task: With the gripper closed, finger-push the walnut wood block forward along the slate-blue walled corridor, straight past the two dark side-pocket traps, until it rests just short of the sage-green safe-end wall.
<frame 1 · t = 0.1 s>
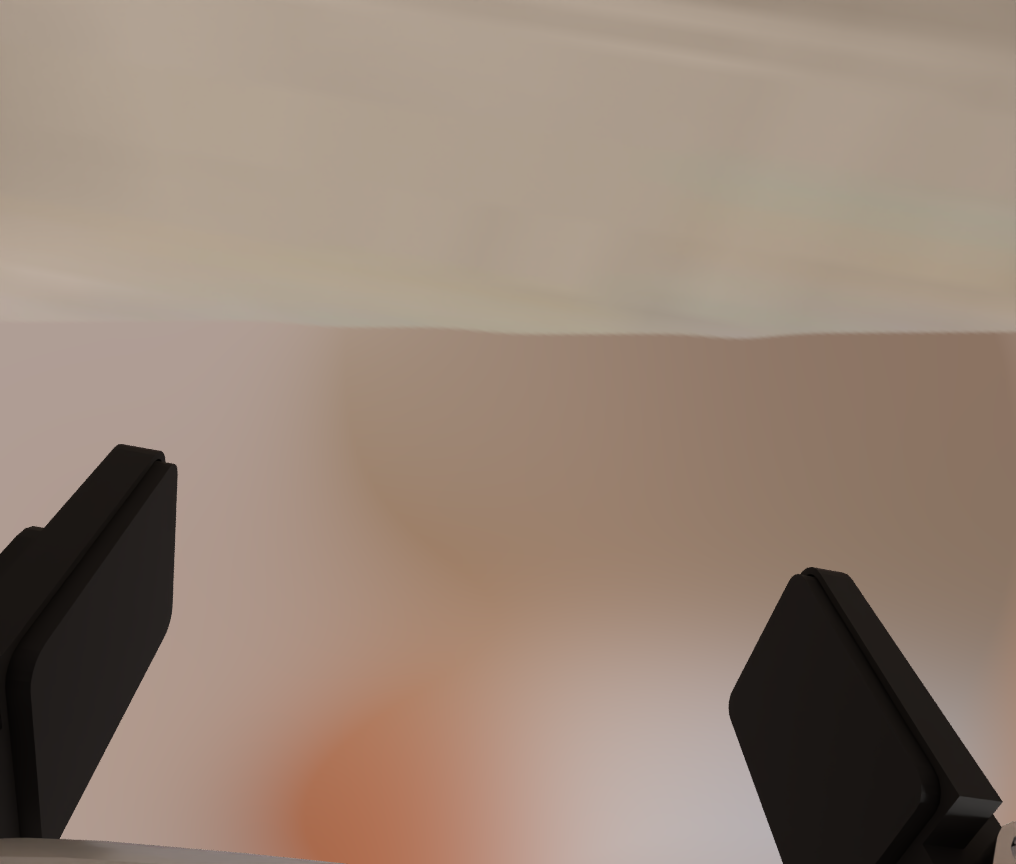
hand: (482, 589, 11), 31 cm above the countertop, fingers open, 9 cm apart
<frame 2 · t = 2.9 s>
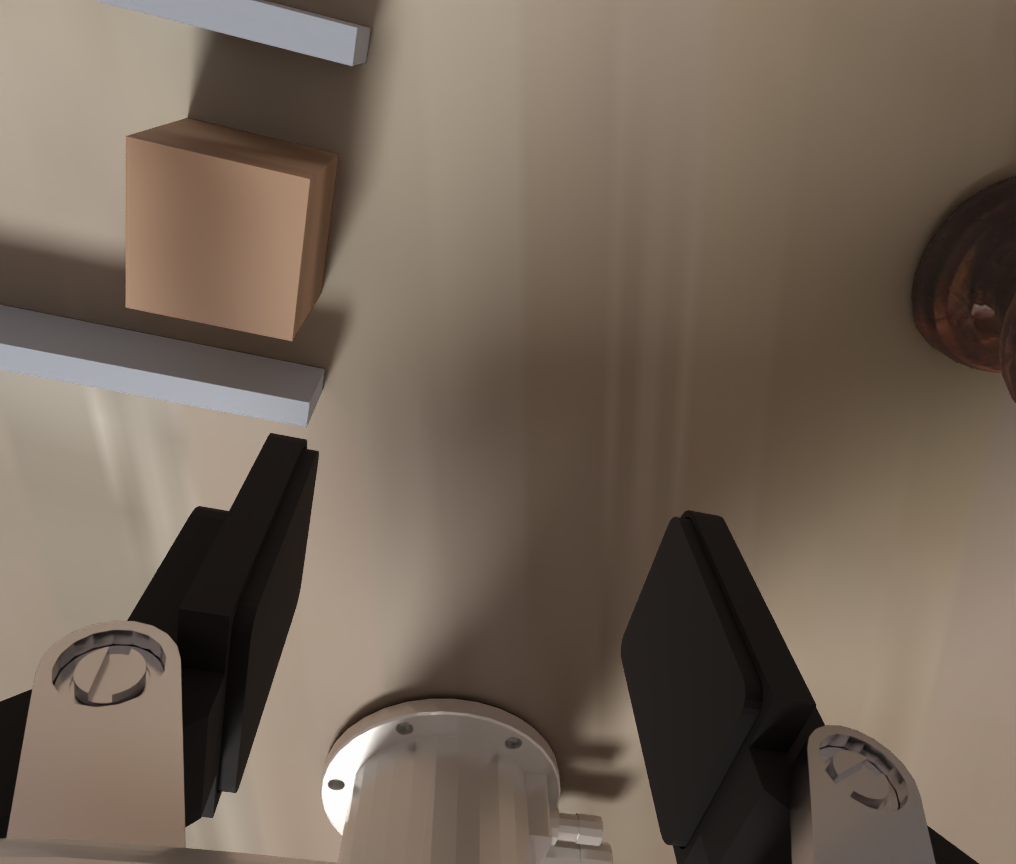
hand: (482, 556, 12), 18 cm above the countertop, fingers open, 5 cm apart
block: (258, 209, 27), on the countertop
mortar and pestle: (958, 286, 29), on the countertop
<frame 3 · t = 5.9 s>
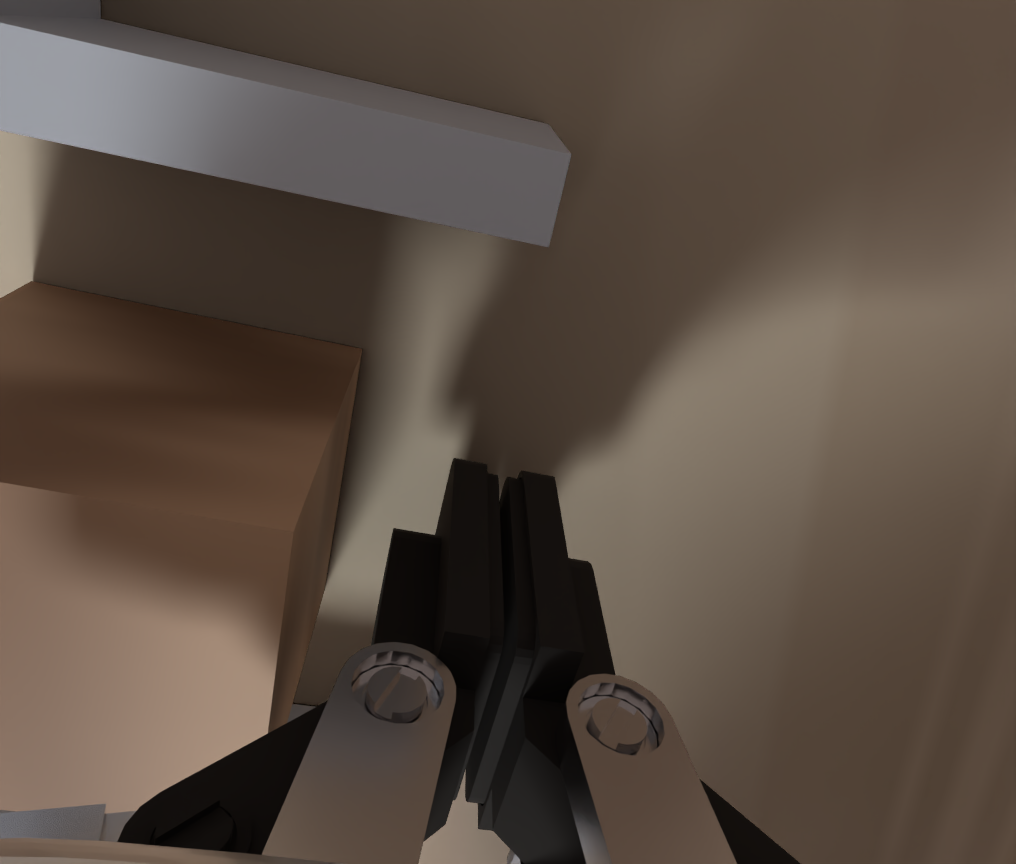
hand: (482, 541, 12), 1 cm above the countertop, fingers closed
block: (194, 453, 13), on the countertop, touching gripper
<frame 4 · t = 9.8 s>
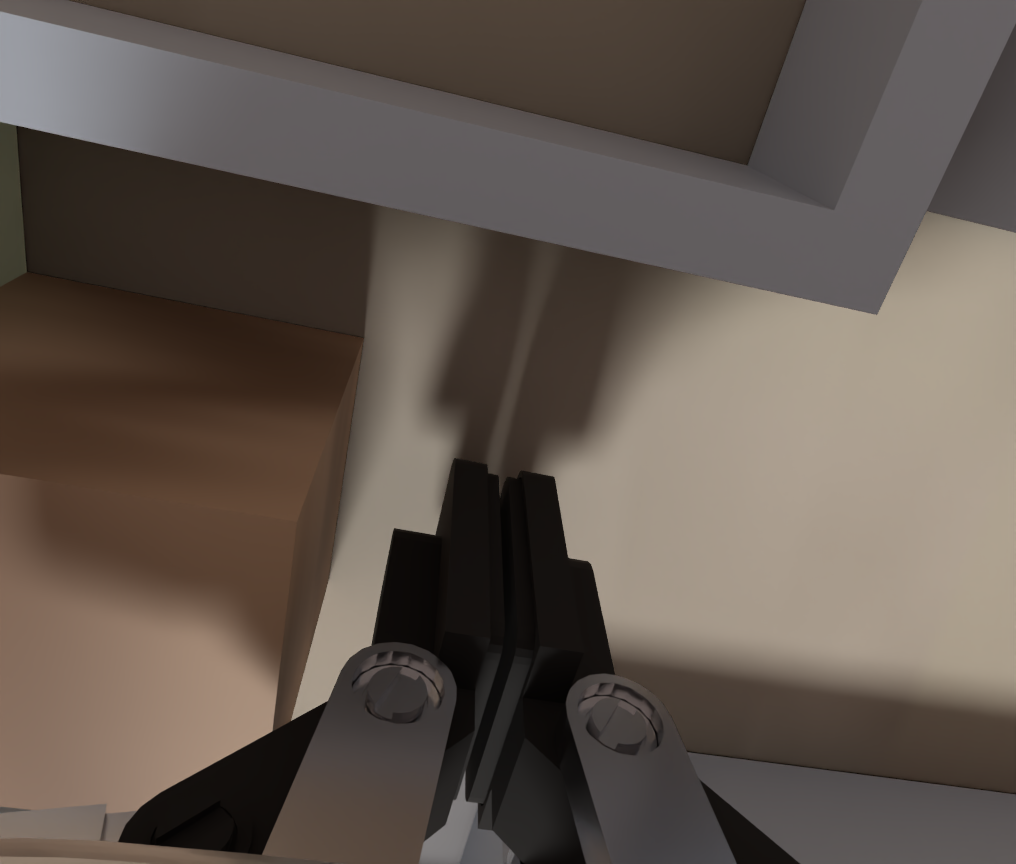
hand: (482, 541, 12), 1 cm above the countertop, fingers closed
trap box: (719, 546, 14), on the countertop
block: (195, 445, 13), on the countertop, touching gripper, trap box
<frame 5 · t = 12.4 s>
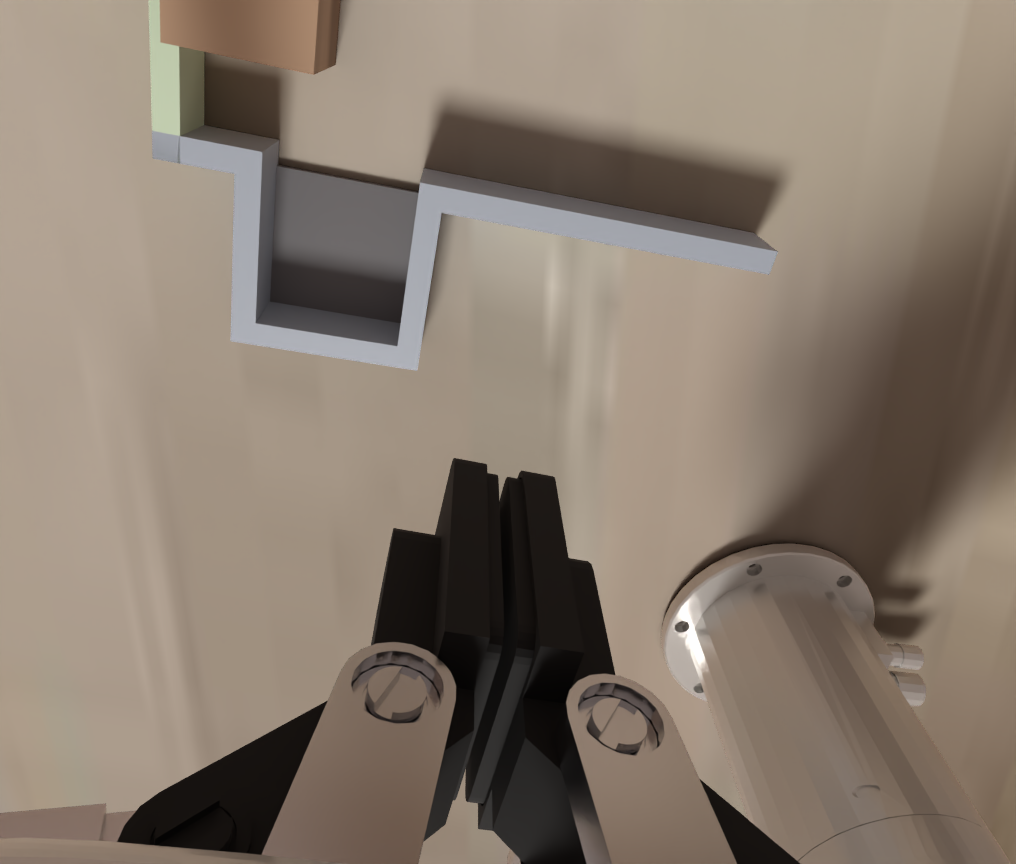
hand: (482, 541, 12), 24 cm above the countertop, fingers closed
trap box: (519, 40, 30), on the countertop
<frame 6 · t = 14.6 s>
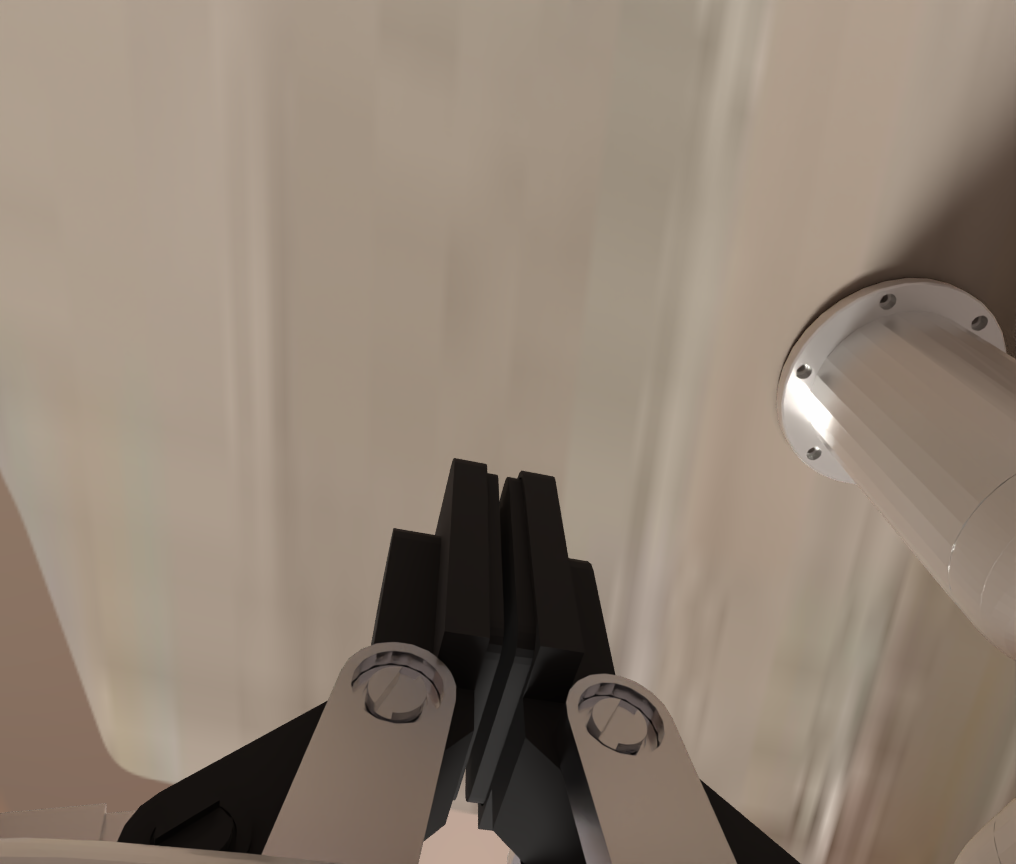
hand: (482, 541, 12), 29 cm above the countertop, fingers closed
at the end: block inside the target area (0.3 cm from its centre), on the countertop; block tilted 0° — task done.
